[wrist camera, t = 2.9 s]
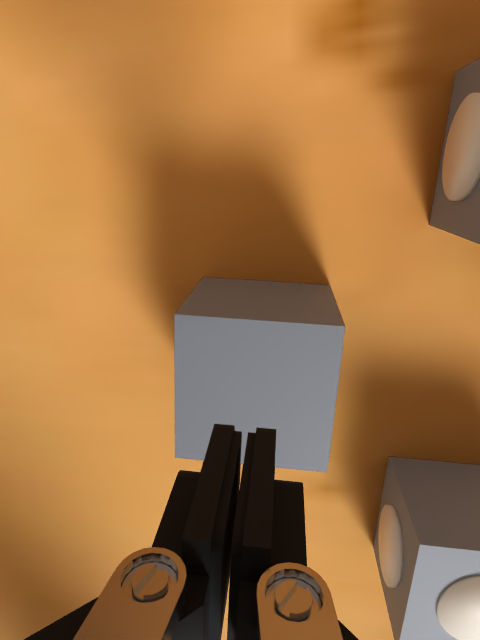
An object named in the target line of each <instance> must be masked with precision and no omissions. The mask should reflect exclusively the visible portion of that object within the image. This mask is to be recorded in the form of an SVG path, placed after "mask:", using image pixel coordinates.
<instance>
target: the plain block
mask: <svg viewBox="0 0 480 640" xmlns="http://www.w3.org/2000/svg"><path fill="white" fill-rule="evenodd" d="M344 333H345V324H344V322H343V319H342V316H341V314H340V311H339V308H338V305H337V303H336V300H335V297H334V295H333V292H332V289H331V286H330V285H322V284H306V283H291V282H275V281H260V280H244V279H228V278H213V277H203V278H202V279H201V281H200V282H199V283H198V285H197V286H196V287H195V288H194V290H193V291H192V292H191V294H190V295H189V296H188V297H187V299H186V300H185V301H184V302H183V304H182V305H181V306H180V308H179V309H178V310H177V311H176V313H175V314H174V361H175V458H184V459H194V460H204V458H205V455H206V451H207V448H208V444H209V441H210V437H211V434H212V430H213V427H214V424H225V425H234V426H235V431H242V444H241V464H243V463H244V456H245V449H246V443H247V436H248V432H252V433H256V428H257V427H258V428H269V429H276V451H275V467H276V468H287V469H297V470H307V471H317V472H327V470H328V462H329V454H330V446H331V438H332V430H333V422H334V414H335V406H336V397H337V389H338V381H339V373H340V365H341V357H342V349H343V341H344Z"/></svg>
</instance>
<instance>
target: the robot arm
mask: <svg viewBox="0 0 480 640" xmlns="http://www.w3.org/2000/svg"><path fill="white" fill-rule="evenodd" d="M241 444H242V431H235V426H234V425H225V424H214V427H213V430H212V434H211V437H210V441H209V444H208V448H207V451H206V455H205V458H204V462H203V465H202V469H201V472H192V471H182V470H180V471H179V472H178V475H177V477H176V480H175V483H174V486H173V489H172V491H171V494H170V497H169V500H168V503H167V505H166V508H165V511H164V514H163V517H162V519H161V522H160V525H159V528H158V531H157V534H156V536H155V539H154V542H153V545H152V547H151V548H144V549H141V550H138V551H136V552H133V553H132V554H130V555H129V556H128V557H126V558H125V559H123V561H122V562H121V563H120V564H119V566H118V567H117V568H116V570H115V571H114V573H113V575H112V576H111V578H110V580H109V581H108V583H107V585H106V586H105V588H104V589H103V591H102V593H101V594H100V596H99V597H97V598H96V599H94V600H92V601H90V602H89V603H87V604H85V605H83V606H82V607H80V608H78V609H76V610H75V611H73V612H71V613H69V614H68V615H66V616H64V617H62V618H61V619H59V620H57V621H55V622H54V623H52V624H50V625H48V626H47V627H45V628H43V629H41V630H40V631H38V632H36V633H35V634H33V635H31V636H29V637H28V638H26V639H24V640H221V634H222V627H223V620H224V613H225V606H226V599H227V592H228V585H229V578H230V588H229V610H228V632H227V640H358V639H357V638H356V637H355V636H354V635H353V634H352V633H351V632H350V631H349V630H348V629H347V628H346V627H345V626H344V625H343V624H342V623H341V622H340V621H339V620H338V619H337V615H336V611H335V607H334V604H333V600H332V596H331V593H330V590H329V588H328V586H327V584H326V582H325V581H324V580H323V579H322V577H321V576H320V575H319V574H318V573H316V572H315V571H314V570H312V569H311V568H309V567H307V557H306V536H305V514H304V493H303V483H302V482H292V481H282V480H274V474H275V451H276V429H269V428H258V427H257V428H256V433H252V432H248V436H247V443H246V449H245V456H244V463H243V470H242V476H241V483H240V464H241ZM239 484H240V490H239Z"/></svg>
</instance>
